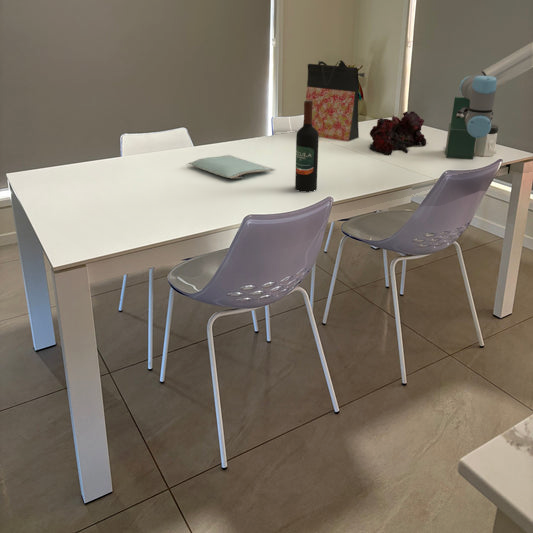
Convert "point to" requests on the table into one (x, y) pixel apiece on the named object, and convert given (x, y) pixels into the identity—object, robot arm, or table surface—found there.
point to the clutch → (228, 166)
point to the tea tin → (459, 144)
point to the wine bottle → (307, 153)
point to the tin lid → (458, 105)
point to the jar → (486, 143)
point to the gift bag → (334, 100)
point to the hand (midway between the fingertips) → (471, 107)
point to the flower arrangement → (397, 134)
